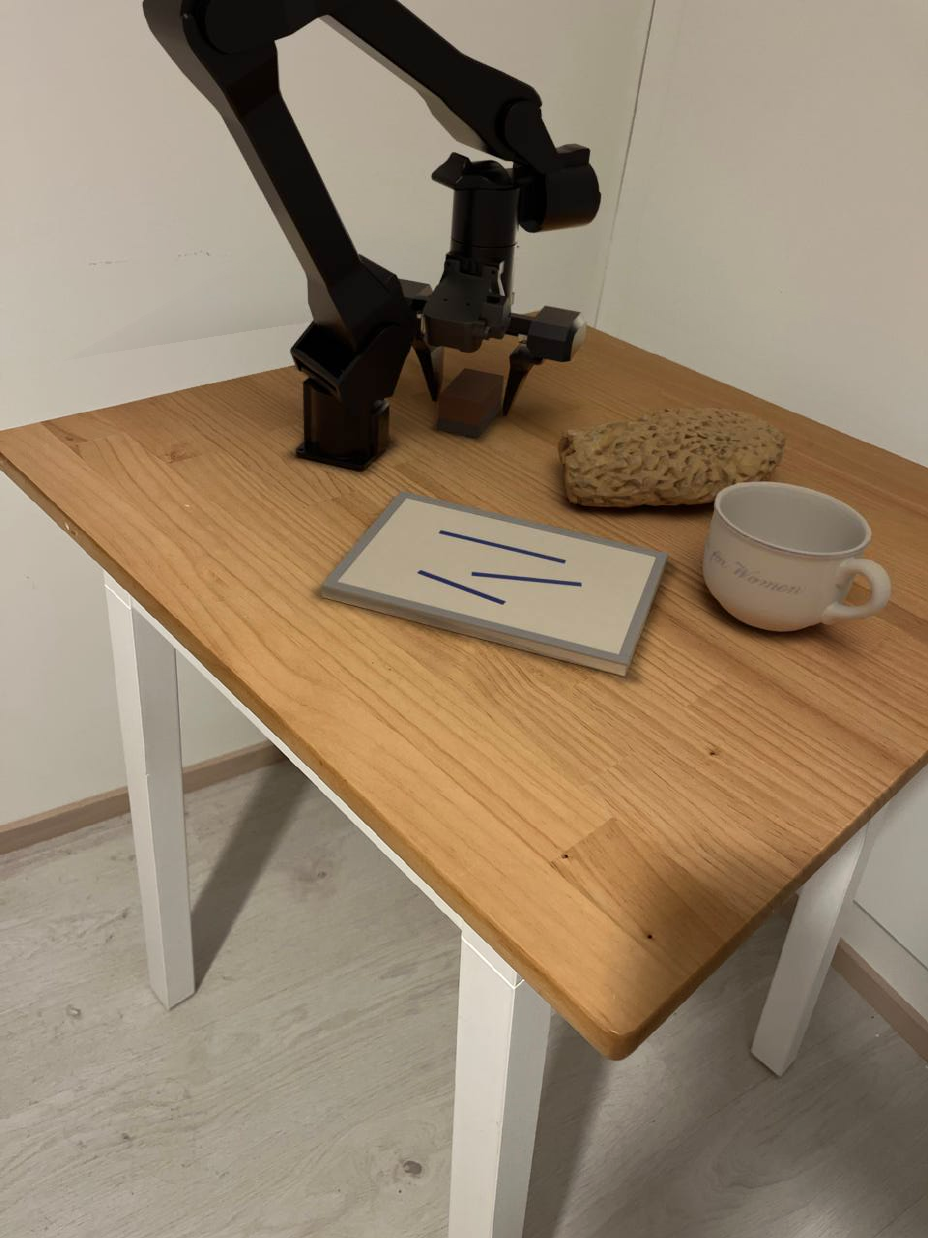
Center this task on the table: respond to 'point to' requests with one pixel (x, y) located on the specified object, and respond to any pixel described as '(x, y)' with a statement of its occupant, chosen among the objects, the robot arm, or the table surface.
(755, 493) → the teacup
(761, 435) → the sponge
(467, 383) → the eraser
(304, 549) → the table surface
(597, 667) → the whiteboard
